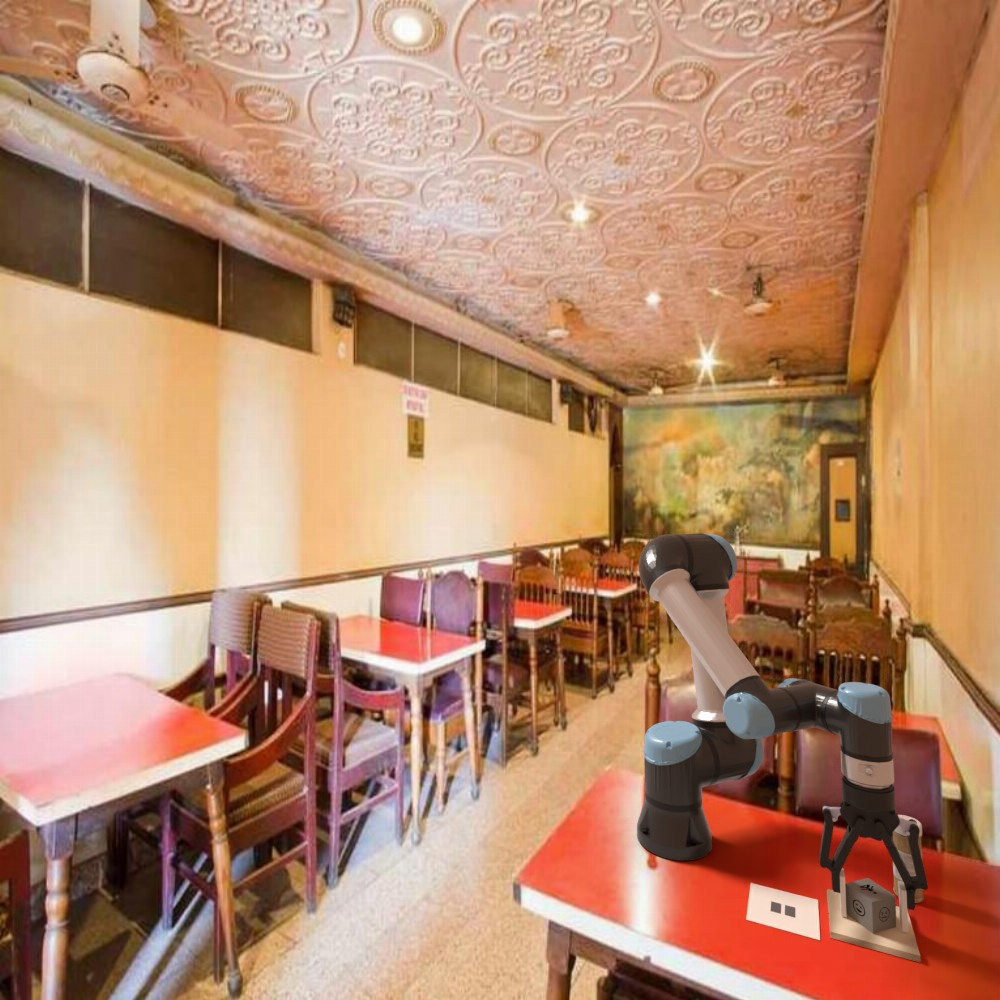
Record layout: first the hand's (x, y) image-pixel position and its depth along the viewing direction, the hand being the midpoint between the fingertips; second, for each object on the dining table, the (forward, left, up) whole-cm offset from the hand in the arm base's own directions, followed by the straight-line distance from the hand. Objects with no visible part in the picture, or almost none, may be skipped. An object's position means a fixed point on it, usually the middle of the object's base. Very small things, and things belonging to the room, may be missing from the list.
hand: (873, 918), depth 97 cm
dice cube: (0, 0, -1) cm, 1 cm away
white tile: (-13, -2, -1) cm, 14 cm away
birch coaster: (0, 0, -1) cm, 1 cm away
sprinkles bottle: (+7, +12, -2) cm, 14 cm away
